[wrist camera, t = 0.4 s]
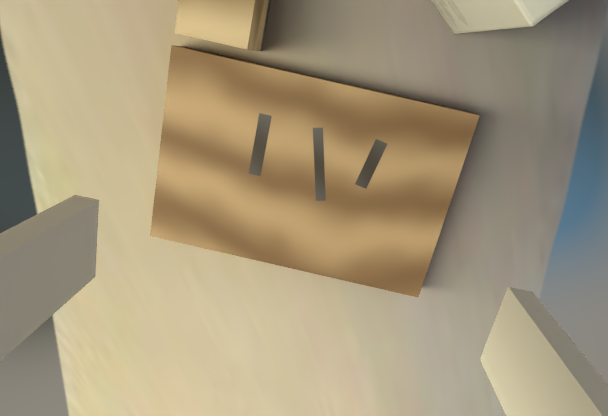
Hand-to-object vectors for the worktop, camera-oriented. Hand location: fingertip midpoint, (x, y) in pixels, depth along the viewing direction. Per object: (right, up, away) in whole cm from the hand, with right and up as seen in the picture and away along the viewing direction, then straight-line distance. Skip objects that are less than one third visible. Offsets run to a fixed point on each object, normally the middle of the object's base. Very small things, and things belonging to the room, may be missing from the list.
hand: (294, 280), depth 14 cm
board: (0, +5, +24) cm, 25 cm away
